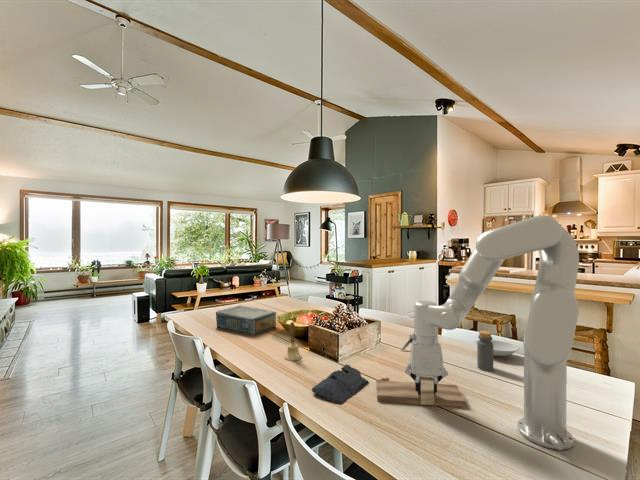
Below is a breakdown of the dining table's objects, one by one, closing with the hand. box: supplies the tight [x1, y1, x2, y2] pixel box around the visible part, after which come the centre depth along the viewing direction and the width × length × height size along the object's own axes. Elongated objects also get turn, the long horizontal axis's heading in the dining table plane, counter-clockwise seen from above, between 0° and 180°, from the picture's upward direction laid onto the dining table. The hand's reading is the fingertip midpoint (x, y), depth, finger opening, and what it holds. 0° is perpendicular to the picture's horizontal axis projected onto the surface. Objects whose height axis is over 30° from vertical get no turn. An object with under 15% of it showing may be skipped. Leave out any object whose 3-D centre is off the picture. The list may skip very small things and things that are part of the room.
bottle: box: [476, 330, 494, 372], centre depth 130 cm, size 6×6×15 cm
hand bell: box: [283, 321, 303, 362], centre depth 143 cm, size 8×8×16 cm
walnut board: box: [375, 379, 467, 408], centre depth 108 cm, size 11×28×2 cm, turn 81°
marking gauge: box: [419, 375, 435, 406], centre depth 106 cm, size 10×4×8 cm, turn 171°
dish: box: [474, 339, 520, 357], centre depth 143 cm, size 18×14×5 cm
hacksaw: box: [400, 338, 414, 353], centre depth 155 cm, size 24×10×2 cm, turn 150°
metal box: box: [215, 305, 277, 336], centre depth 192 cm, size 21×32×10 cm, turn 57°
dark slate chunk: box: [311, 364, 370, 405], centre depth 115 cm, size 15×22×5 cm
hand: (426, 393), depth 104 cm, fingers closed on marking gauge, 4 cm apart
